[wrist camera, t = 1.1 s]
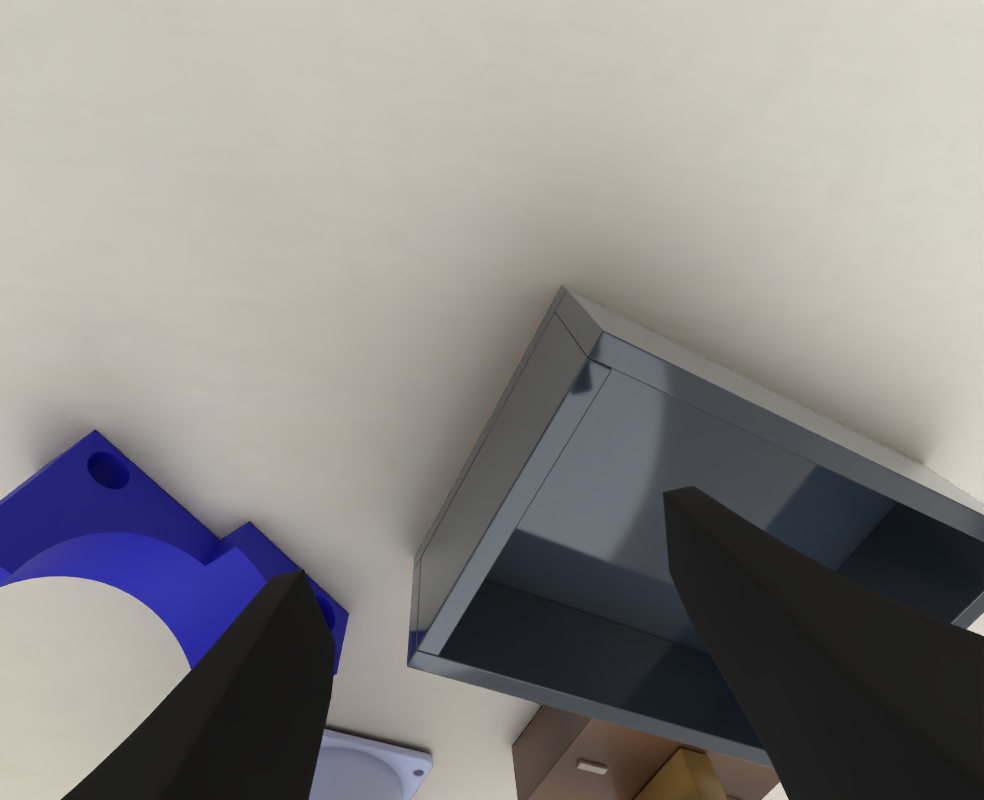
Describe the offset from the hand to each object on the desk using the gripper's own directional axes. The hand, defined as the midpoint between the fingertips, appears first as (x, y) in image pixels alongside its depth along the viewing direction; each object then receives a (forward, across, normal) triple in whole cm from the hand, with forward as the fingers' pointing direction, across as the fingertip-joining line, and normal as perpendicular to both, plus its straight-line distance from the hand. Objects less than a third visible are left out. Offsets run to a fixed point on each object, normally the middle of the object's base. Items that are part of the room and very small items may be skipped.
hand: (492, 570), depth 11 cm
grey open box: (+10, -7, +8) cm, 14 cm away
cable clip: (+10, +12, +5) cm, 16 cm away
